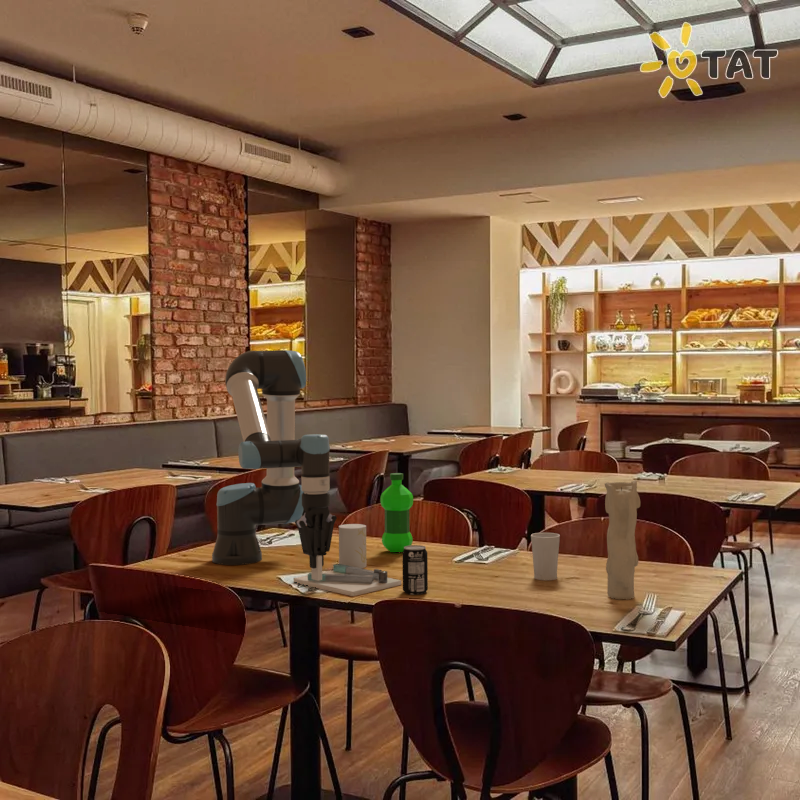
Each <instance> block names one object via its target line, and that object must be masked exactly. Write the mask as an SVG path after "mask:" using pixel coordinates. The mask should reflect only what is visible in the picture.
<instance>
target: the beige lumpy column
mask: <svg viewBox="0 0 800 800" xmlns="http://www.w3.org/2000/svg"><path fill="white" fill-rule="evenodd" d="M604 487H605V490H606V493H605V494H606V495H605V499H604V500H605V501H604V502H605V503H604V505H605V507H604V508H605V509H604V510H605V513H606V514H608V519H609V520H608V528H607V532H606V544H607V546H606V547H607V560H606V565H605V571H606V574H607V589H606V590H607V596H608V597H609V598H610V597H611V599H614V598H615V599H614V600H620V599H626V600H631V598H632V599H634V598H635V586H634V585H635V573H636V572H635V571H636V570H635V569H636V567H637V566H639V556H638V553H637V544H636V537H635V534H636V532H635V531H636V526H637V516H638V513H637V511H638V509H639V508H640V507H641V499H640V494H639V493H638V481H637V480H635V479H634V480H632V481H631V482H625V481H624V482H623V481H622V482H621V481H620V482H618V481H617V482H615V481H614V482H605V483H604Z"/></svg>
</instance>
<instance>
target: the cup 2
mask: <svg viewBox="0 0 800 800" xmlns="http://www.w3.org/2000/svg"><path fill="white" fill-rule="evenodd" d="M560 537H561V535H560V534H559V533H556V532H555V533H554V532H535V533H532V534H531V535H530V541H531V542H530V543H531V550H532V551H531V552H532V553H531V554H532V564H533V573H534V574H533V578H534V579H535V580H539V581H554V580H557V579H558V565H559V564H558V563H559V547H560V539H561V538H560Z"/></svg>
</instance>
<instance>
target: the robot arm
mask: <svg viewBox="0 0 800 800" xmlns="http://www.w3.org/2000/svg"><path fill="white" fill-rule="evenodd" d="M306 370H307V369H306V366H305V361H304V359H303V356H302V355H301V353H300V352H299V351H296V350H286V349H279V350H277V349H275V350H274V349H273V350H248V351H245V352H243V353H240V354H239V355H237V356H236V357H235V358H234V359H233V360H232V361H231V362H230V365H229V366H228V367H227V370H226V373H225V376H224V377H225V379H224V380H225V381H224V383H225V387H226V388H225V389H226V391H227V393H228V395H230V396H231V398H232V402H233V405H234V406H233V407H234V409H235V414H236V416H237V417H236V418H237V422H238V424H239V425H238V426H239V430H240V432H241V438H242V441H241V442H240V443H239V444H238V455H237V456H238V462H239V465H240V467H241V468H242V469H246V470H247V469H248V470H249V469H250V470H259V469H260V470H261V469H262V470H264V469H266V476H265V477H264V478H263V479H262V480H261V486H260V487H256V484H255V483H254V482H246V483H242V482H241V483H236V484H231V485H226V486H224V487H222V488H220V489H219V490H218V491H217V494H216V496H217V497H216V504H215V505H216V513H217V514H216V518H217V519H216V520H217V526H216V527H217V537H216V540H215V544H214V548H213V551H212V554H211V558H212V559H211V560H212V563H214V564H217V565H223V566H225V565H227V566H236V565H237V566H238V565H249V564H255V563H259V562H260V561H262V560H263V552H262V550H261V546H260V543H259V540H258V537H257V533H256V529H257V528H256V527H257V526H264V525H265V526H266V525H280V524H283V525H287V524H293V523H294V524H295V526H296V528H297V529H298V534H299V539H300V544H301V548H302V549H301V550H302V553H303V554H304V555H307V556H309V568H310V569H311V572H310V573H311V577H312V579H313V580H317V581H319V580H322V572H323V567H324V564H325V562H324V559H325V556H326V555H327V552H330V550H331V543H332V539H333V533H334V526H335V523H336V521H337V518H338V517H337V516H336V515H333V514H332V513H331V511H330V509H329V506H330V505H331V495H330V492H329V491H330V489H331V488H330V487H331V486H330V484H331V483H330V479H331V477H330V448H331V447H330V441H329V440H330V438H329V436H328V435H327V434H322V433H321V434H320V433H318V434H317V433H313V434H312V433H311V434H304V435H302V436H301V438H298V439H295V435H296V434H295V433H296V430H295V429H296V427H295V426H296V425H295V424H296V423H295V422H296V400H297V398H298V397H300V395H301V389H304V388H306V387H307V386H306V385H307V373H306ZM258 390H261V395H262V396H263V397H264V398H265V400H266V415H265V413H264V410H263V406H262V402H261V399H260V395H259V391H258ZM295 468H301V478H300V479H301V484H300V480H299V479H298V478H297V477H296V476H295Z"/></svg>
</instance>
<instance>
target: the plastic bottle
mask: <svg viewBox="0 0 800 800" xmlns="http://www.w3.org/2000/svg"><path fill="white" fill-rule="evenodd" d="M389 480H390V481H391V484H390V485H389V486H388V487H387V488H386V489H385V490H384V491H383V492H382V493H381V495H380V496H379V497H380V500H379V501H380V506H381V507H382V508H383V509H384V532H383V534H382V536H381V542H382V545H383V547H384V548H385V549H386V550H387V551H388V552H389V551H390V552H403V551H404V547H405V546H409V545H412V544H413V542H414V541H413V539H414V538H413V536H412V533H411V531H410V509H411V508H412V507H413V506H414V505H413V504H414V495H413V493H412V492H411V491H410V490H409V489H408V488H407V487H405V486H404V484H402V481H403V480H404V473H401V472H395V473H394V472H393V473H389ZM390 552H389V553H390Z"/></svg>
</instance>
